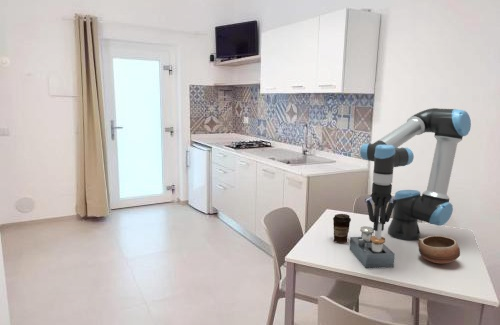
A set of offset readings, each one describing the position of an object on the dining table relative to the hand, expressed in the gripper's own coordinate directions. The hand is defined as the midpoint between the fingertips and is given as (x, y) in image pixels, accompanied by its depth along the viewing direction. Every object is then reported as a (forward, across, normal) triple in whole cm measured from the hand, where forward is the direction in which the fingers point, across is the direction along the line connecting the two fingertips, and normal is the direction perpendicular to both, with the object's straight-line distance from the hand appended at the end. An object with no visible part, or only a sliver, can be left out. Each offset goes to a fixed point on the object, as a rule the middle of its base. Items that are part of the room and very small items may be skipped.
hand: (377, 237), depth 158 cm
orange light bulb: (+10, 0, 0) cm, 10 cm away
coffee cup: (+12, +7, -24) cm, 28 cm away
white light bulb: (+10, 0, -11) cm, 15 cm away
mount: (+12, 0, -6) cm, 13 cm away
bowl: (+12, -28, 0) cm, 31 cm away
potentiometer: (+6, +4, -6) cm, 9 cm away
